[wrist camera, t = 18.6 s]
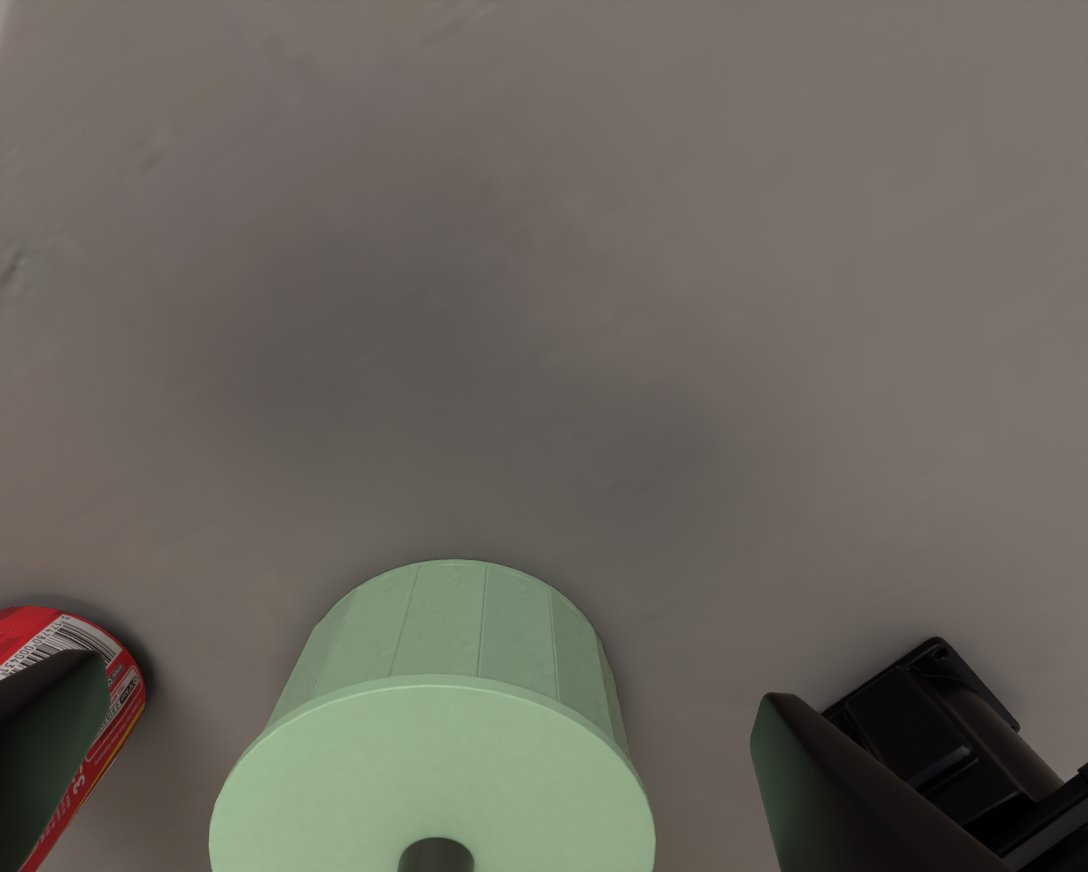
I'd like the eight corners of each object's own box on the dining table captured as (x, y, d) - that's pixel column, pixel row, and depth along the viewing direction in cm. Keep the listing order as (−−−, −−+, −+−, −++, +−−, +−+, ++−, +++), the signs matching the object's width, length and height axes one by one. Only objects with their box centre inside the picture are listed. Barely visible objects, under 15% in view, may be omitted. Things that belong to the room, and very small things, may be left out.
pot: (671, 690, 25) (720, 841, 19) (461, 846, 28) (446, 1023, 22) (453, 496, 22) (428, 604, 16) (236, 693, 24) (144, 852, 18)
